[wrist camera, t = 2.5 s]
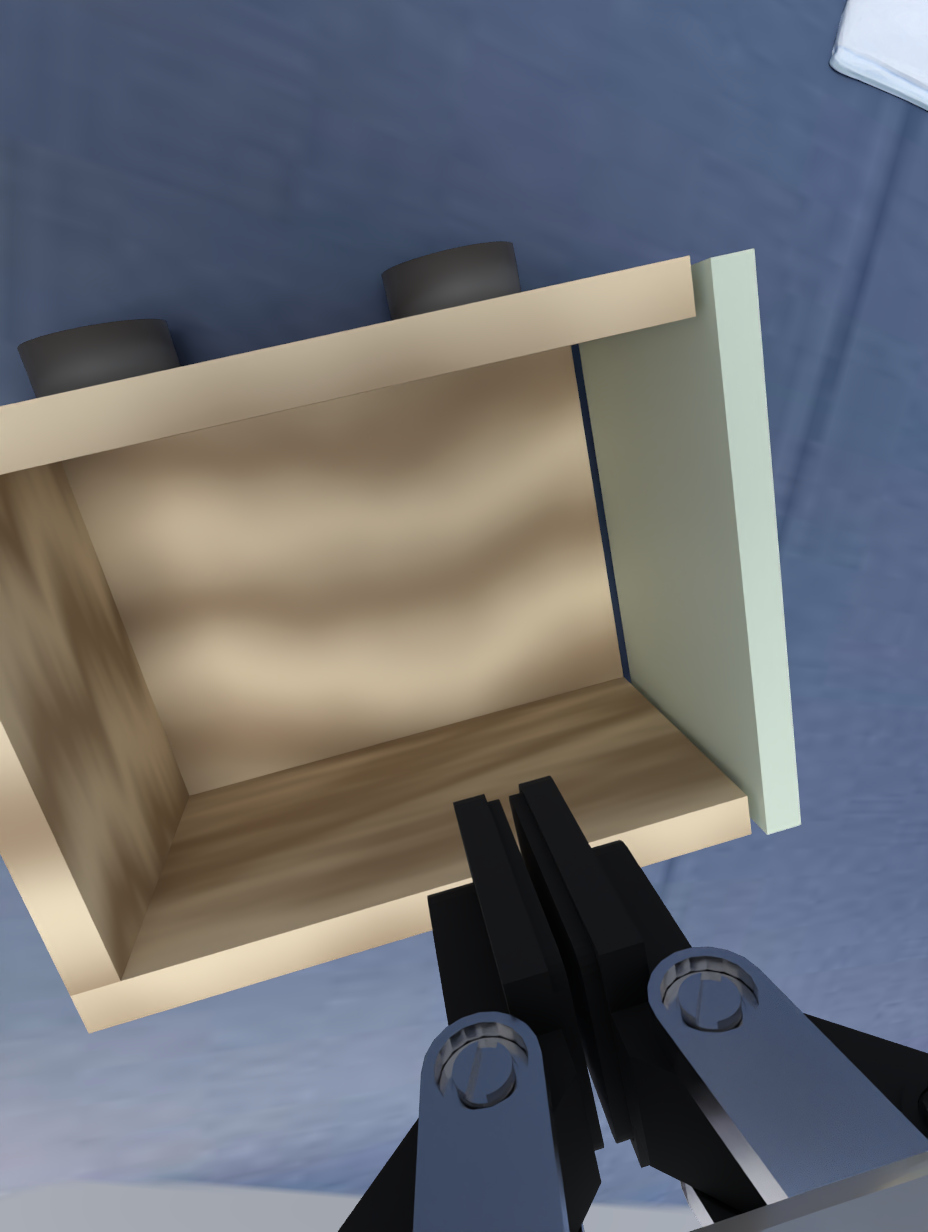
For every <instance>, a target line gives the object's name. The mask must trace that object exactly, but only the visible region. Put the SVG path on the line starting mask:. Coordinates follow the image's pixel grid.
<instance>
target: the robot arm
mask: <svg viewBox="0 0 928 1232" xmlns="http://www.w3.org/2000/svg"><path fill="white" fill-rule="evenodd" d="M509 802H510V807H511V811H512V816H513V820H514V824H515V829H516V833H517V838H518V842H519V846H520V850H519V848H518V845H517V843H516V840H515V838H514V835H513V833H512V830H511V828H510V825H509V822H508V820H507V817H506V815H505V812H504V810H503V807H502V805H501V802H500V800H499V799H496V800H493V801H489V802H487V800H486V797H485V794H481V795H478V796H474V797H470V798H467V799H463V800H460V801H456V802H453V806H454V810H455V814H456V818H457V822H458V826H459V829H460V833H461V837H462V841H463V845H464V849H465V853H466V857H467V861H468V865H469V869H470V873H471V877H472V881H473V882H472V883H469V884H465V885H462V886H459V887H455V888H452V889H448V890H445V891H441V892H438V893H434V894H431V895H428V896H427V900H428V907H429V913H430V919H431V925H432V930H433V936H434V942H435V948H436V954H437V960H438V966H439V972H440V978H441V984H442V990H443V996H444V1002H445V1008H446V1014H447V1020H448V1025H449V1026H448V1027H446V1028H445V1029H444V1030H443V1031H442V1032H441V1033H440V1034H439V1035H438V1036H437V1037H436V1038H435V1039H434V1041H433V1042H432V1044H431V1046H430V1048H429V1049H428V1051H427V1053H426V1055H425V1057H424V1062H423V1067H422V1071H421V1083H420V1103H419V1118H418V1119H417V1121H416V1122H415V1124H414V1125H413V1126H412V1128H411V1129H410V1131H409V1132H408V1133H407V1135H406V1136H405V1138H404V1139H403V1141H402V1142H401V1143H400V1145H399V1146H398V1148H397V1149H396V1150H395V1152H394V1153H393V1155H392V1156H391V1157H390V1159H389V1160H388V1162H387V1163H386V1164H385V1166H384V1167H383V1169H382V1170H381V1171H380V1173H379V1174H378V1176H377V1177H376V1179H375V1180H374V1181H373V1183H372V1184H371V1186H370V1187H369V1188H368V1190H367V1191H366V1193H365V1194H364V1195H363V1197H362V1198H361V1200H360V1201H359V1203H358V1204H357V1205H356V1207H355V1208H354V1210H353V1211H352V1212H351V1214H350V1215H349V1217H348V1218H347V1219H346V1221H345V1223H344V1224H343V1225H342V1226H341V1228H340V1229H339V1231H338V1232H585V1231H584V1227H583V1220H584V1218H585V1216H586V1214H587V1212H588V1210H589V1208H590V1206H591V1203H592V1201H593V1199H594V1197H595V1195H596V1193H597V1190H598V1188H599V1186H600V1184H601V1179H600V1174H599V1170H598V1165H597V1161H596V1156H595V1152H594V1151H595V1150H599V1149H602V1148H604V1143H603V1138H602V1134H601V1129H600V1124H599V1120H598V1115H597V1111H596V1106H595V1101H594V1097H593V1092H592V1087H591V1083H590V1078H589V1074H588V1069H589V1072H590V1075H591V1078H592V1080H593V1083H594V1086H595V1089H596V1091H597V1094H598V1097H599V1099H600V1102H601V1105H602V1108H603V1110H604V1113H605V1116H606V1118H607V1121H608V1124H609V1127H610V1129H611V1132H612V1135H613V1137H614V1139H615V1142H616V1143H620V1142H623V1141H626V1140H629V1139H630V1140H631V1143H632V1145H633V1148H634V1150H635V1153H636V1155H637V1158H638V1161H639V1163H640V1166H641V1168H642V1167H645V1166H648V1165H650V1166H652V1167H654V1168H656V1169H658V1170H660V1171H662V1172H664V1173H666V1174H668V1175H670V1176H672V1177H674V1178H676V1179H678V1180H680V1182H681V1187H682V1190H683V1192H684V1195H685V1197H686V1199H687V1202H688V1204H689V1206H690V1208H691V1210H692V1211H693V1213H694V1215H695V1216H696V1218H697V1220H698V1221H699V1223H700V1225H701V1226H702V1228H699V1229H696V1230H693V1231H690V1232H928V1053H925V1052H922V1051H919V1050H916V1049H913V1048H910V1047H907V1046H903V1045H900V1044H897V1043H894V1042H891V1041H888V1040H885V1039H882V1038H879V1037H876V1036H873V1035H869V1034H866V1033H863V1032H860V1031H857V1030H854V1029H851V1028H848V1027H845V1026H842V1025H839V1024H835V1023H832V1022H829V1021H826V1020H823V1019H820V1018H817V1017H814V1016H811V1015H808V1014H805V1013H802V1012H801V1011H800V1010H799V1009H798V1008H797V1007H796V1006H795V1005H794V1004H793V1003H792V1002H791V1001H790V1000H789V999H788V997H787V996H786V995H785V994H784V993H783V992H782V991H781V990H780V989H779V988H778V987H777V986H776V985H775V984H774V983H773V982H772V981H771V980H770V979H769V978H768V977H767V976H766V975H765V974H764V973H763V972H762V971H761V970H760V969H759V968H758V967H756V966H755V965H754V964H752V963H751V962H750V961H749V960H747V959H746V958H745V957H742V956H740V955H738V954H735V953H733V952H731V951H728V950H725V949H719V948H713V947H693V948H692V947H691V945H690V944H689V942H688V941H687V939H686V938H685V936H684V934H683V933H682V931H681V930H680V928H679V927H678V925H677V924H676V922H675V920H674V919H673V917H672V916H671V914H670V913H669V911H668V909H667V908H666V906H665V905H664V903H663V902H662V900H661V899H660V897H659V895H658V894H657V892H656V891H655V889H654V888H653V886H652V885H651V883H650V881H649V880H648V878H647V877H646V875H645V874H644V872H643V871H642V869H641V867H640V866H639V864H638V863H637V861H636V860H635V858H634V857H633V855H632V853H631V852H630V850H629V849H628V847H627V846H626V845H625V843H624V842H623V841H621V840H617V841H614V842H610V843H607V844H603V845H600V846H596V847H593V848H591V846H590V845H589V843H588V841H587V839H586V837H585V836H584V834H583V832H582V830H581V829H580V827H579V825H578V823H577V821H576V820H575V818H574V816H573V814H572V812H571V811H570V809H569V807H568V805H567V804H566V802H565V800H564V798H563V796H562V795H561V793H560V791H559V789H558V787H557V786H556V784H555V782H554V780H553V778H552V777H551V776H550V775H549V776H545V777H542V778H538V779H535V780H531V781H528V782H524V783H520V784H519V793H518V794H514V795H511V796H509ZM520 851H521V853H520ZM587 1067H588V1069H587Z"/></svg>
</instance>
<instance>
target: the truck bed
mask: <svg viewBox="0 0 928 1232" xmlns="http://www.w3.org/2000/svg"><path fill="white" fill-rule="evenodd" d="M382 279H383V284H384V288H385V292H386V297H387V301H388V306H389V310H390V314H391V319H392V321H388V322H383V323H379V324H374V325H370V326H365V327H361V328H356V329H351V330H347V331H342V332H338V333H333V334H329V335H324V336H319V337H315V338H310V339H306V340H301V341H297V342H292V343H287V344H283V345H278V346H274V347H269V348H265V349H260V350H255V351H251V352H246V353H242V354H237V355H233V356H228V357H223V358H219V359H214V360H210V361H205V362H201V363H196V364H191V365H187V366H182V367H181V366H180V363H179V360H178V357H177V354H176V351H175V348H174V344H173V341H172V338H171V335H170V332H169V329H168V326H167V323H166V321H164V320H160V319H137V320H125V321H116V322H109V323H102V324H96V325H90V326H84V327H79V328H74V329H69V330H64V331H60V332H56V333H52V334H48V335H44V336H41V337H38V338H35V339H32V340H29V341H26V342H24V343H22V344H20V345H19V346H18V347H17V349H18V351H19V354H20V356H21V359H22V362H23V364H24V367H25V369H26V372H27V375H28V377H29V380H30V382H31V385H32V388H33V390H34V393H35V395H36V399H32V400H27V401H22V402H18V403H13V404H9V405H4V406H0V854H1V856H2V858H3V860H4V862H5V864H6V866H7V868H8V870H9V872H10V874H11V876H12V878H13V880H14V882H15V885H16V887H17V889H18V891H19V893H20V895H21V897H22V899H23V901H24V903H25V905H26V907H27V909H28V911H29V913H30V915H31V917H32V919H33V921H34V923H35V925H36V927H37V929H38V931H39V933H40V935H41V937H42V939H43V941H44V943H45V945H46V947H47V949H48V951H49V953H50V955H51V957H52V960H53V962H54V964H55V966H56V968H57V970H58V972H59V974H60V976H61V978H62V980H63V982H64V984H65V986H66V988H67V990H68V992H69V994H70V996H71V998H72V1000H73V1002H74V1004H75V1006H76V1008H77V1010H78V1012H79V1014H80V1016H81V1018H82V1020H83V1022H84V1024H85V1026H86V1028H87V1030H88V1033H92V1032H96V1031H99V1030H102V1029H105V1028H109V1027H112V1026H115V1025H119V1024H122V1023H125V1022H129V1021H132V1020H135V1019H139V1018H142V1017H145V1016H149V1015H152V1014H155V1013H159V1012H162V1011H165V1010H169V1009H172V1008H175V1007H178V1006H182V1005H185V1004H188V1003H192V1002H195V1001H198V1000H202V999H205V998H208V997H212V996H215V995H218V994H222V993H225V992H228V991H232V990H235V989H238V988H242V987H245V986H248V985H252V984H255V983H258V982H261V981H265V980H268V979H271V978H275V977H278V976H281V975H285V974H288V973H291V972H295V971H298V970H301V969H305V968H308V967H311V966H315V965H318V964H321V963H325V962H328V961H331V960H335V959H338V958H341V957H344V956H348V955H351V954H354V953H358V952H361V951H364V950H368V949H371V948H374V947H378V946H381V945H384V944H388V943H391V942H394V941H398V940H401V939H404V938H408V937H411V936H414V935H418V934H421V933H424V932H427V931H431V930H432V925H431V919H430V913H429V907H428V900H427V896H428V895H431V894H434V893H438V892H441V891H445V890H448V889H452V888H455V887H459V886H462V885H465V884H469V883H472V882H473V881H472V877H471V873H470V869H469V865H468V861H467V857H466V853H465V849H464V845H463V841H462V837H461V833H460V829H459V826H458V822H457V818H456V814H455V810H454V806H453V802H456V801H460V800H463V799H467V798H470V797H474V796H478V795H481V794H485V797H486V800H487V802H489V801H493V800H496V799H499V800H500V802H501V805H502V807H503V810H504V812H505V815H506V817H507V820H508V822H509V825H510V828H511V830H512V833H513V835H514V838H515V840H516V843H517V845H518V848H519V850H520V846H519V842H518V838H517V833H516V829H515V824H514V820H513V816H512V811H511V807H510V802H509V796H511V795H514V794H518V793H519V784H520V783H524V782H528V781H531V780H535V779H538V778H542V777H545V776H549V775H550V776H551V777H552V778H553V780H554V782H555V784H556V786H557V787H558V789H559V791H560V793H561V795H562V796H563V798H564V800H565V802H566V804H567V805H568V807H569V809H570V811H571V812H572V814H573V816H574V818H575V820H576V821H577V823H578V825H579V827H580V829H581V830H582V832H583V834H584V836H585V837H586V839H587V841H588V843H589V845H590V846H591V848H593V847H596V846H600V845H603V844H607V843H610V842H614V841H617V840H621V841H623V842H624V843H625V845H626V846H627V847H628V849H629V850H630V852H631V853H632V855H633V857H634V858H635V860H636V861H637V863H638V864H639V866H640V867H643V866H647V865H650V864H653V863H657V862H660V861H663V860H667V859H670V858H673V857H676V856H680V855H683V854H686V853H690V852H693V851H696V850H700V849H703V848H706V847H710V846H713V845H716V844H720V843H723V842H726V841H730V840H733V839H736V838H740V837H743V836H746V835H749V834H751V825H750V816H749V806H748V797H747V795H746V794H745V793H744V792H743V791H742V790H741V789H740V788H739V787H738V786H737V785H735V784H734V783H733V782H732V781H731V780H730V779H729V778H728V777H727V776H726V775H725V774H724V773H723V772H722V771H721V770H720V769H719V768H718V767H717V766H716V765H715V764H714V763H713V762H712V761H711V760H710V759H708V758H707V757H706V756H705V755H704V754H703V753H702V752H701V751H700V750H699V749H698V748H697V747H696V746H695V745H694V744H693V743H692V742H691V741H690V740H689V739H688V738H687V737H686V736H685V735H684V734H682V733H681V732H680V731H679V730H678V729H677V728H676V727H675V726H674V725H673V724H672V723H671V722H670V721H669V720H668V719H667V718H666V717H665V716H664V715H663V714H662V713H661V712H660V711H659V710H658V709H657V708H655V707H654V706H653V705H652V704H651V703H650V702H649V701H648V700H647V699H646V698H645V697H644V696H643V695H642V694H641V693H640V692H639V691H638V690H637V689H636V688H635V687H634V686H633V685H632V684H631V683H630V682H628V681H627V680H626V679H625V678H624V677H623V671H622V664H621V658H620V652H619V646H618V639H617V633H616V627H615V620H614V614H613V608H612V602H611V595H610V589H609V583H608V576H607V570H606V564H605V558H604V551H603V545H602V539H601V532H600V526H599V520H598V514H597V507H596V501H595V495H594V488H593V482H592V476H591V470H590V463H589V457H588V451H587V444H586V438H585V432H584V426H583V419H582V413H581V407H580V401H579V394H578V388H577V382H576V375H575V369H574V363H573V357H572V350H571V345H575V344H579V343H584V342H588V341H592V340H597V339H601V338H605V337H609V336H614V335H618V334H622V333H627V332H631V331H635V330H640V329H644V328H648V327H653V326H657V325H661V324H665V323H670V322H674V321H678V320H683V319H687V318H691V317H696V310H695V301H694V292H693V282H692V273H691V264H690V256H685V257H681V258H676V259H671V260H667V261H662V262H658V263H653V264H649V265H644V266H639V267H635V268H630V269H626V270H621V271H617V272H612V273H607V274H603V275H598V276H594V277H589V278H585V279H580V280H575V281H571V282H566V283H562V284H557V285H553V286H548V287H543V288H539V289H534V290H530V291H525V292H521V287H520V282H519V276H518V270H517V265H516V259H515V253H514V248H513V244H512V243H511V242H504V241H500V242H487V243H480V244H473V245H468V246H463V247H458V248H453V249H449V250H444V251H440V252H436V253H433V254H429V255H426V256H422V257H419V258H416V259H412V260H410V261H407V262H404V263H401V264H399V265H396V266H394V267H392V268H390V269H388V270H386V271H385V272H383V273H382ZM520 853H521V851H520Z"/></svg>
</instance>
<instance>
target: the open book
mask: <svg viewBox="0 0 928 1232" xmlns="http://www.w3.org/2000/svg"><path fill="white" fill-rule="evenodd" d="M829 64H830V66H831V67H832V68H834V69H835V70H836V71H838V72H840V73H842V74H844V75H847V76H849V77H852V78H855V79H857V80H860V81H862V82H865V83H867V84H869V85H872V86H874V87H877V88H879V89H881V90H884V91H886V92H888V93H891V94H893V95H895V96H898V97H900V98H902V99H905V100H907V101H909V102H911V103H913V104H915V105H917V106H919V107H921V108H923V109H925V110H927V111H928V0H847V3H846V6H845V9H844V11H843V14H842V17H841V20H840V24H839V28H838V32H837V36H836V40H835V44H834V48H833V51H832V57H831V59H830V61H829Z"/></svg>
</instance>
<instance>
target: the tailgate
mask: <svg viewBox="0 0 928 1232" xmlns="http://www.w3.org/2000/svg"><path fill="white" fill-rule="evenodd" d="M691 273H692V282H693V292H694V301H695V310H696V317H691V318H687V319H683V320H678V321H674V322H670V323H665V324H661V325H657V326H653V327H648V328H644V329H640V330H635V331H631V332H627V333H622V334H618V335H614V336H609V337H605V338H601V339H597V340H592V341H588V342H584V343H579V350H580V357H581V363H582V369H583V376H584V382H585V389H586V395H587V402H588V408H589V414H590V421H591V427H592V434H593V440H594V446H595V453H596V459H597V466H598V472H599V479H600V485H601V491H602V498H603V504H604V511H605V517H606V523H607V530H608V536H609V543H610V549H611V556H612V562H613V568H614V575H615V581H616V588H617V594H618V600H619V607H620V613H621V620H622V626H623V633H624V639H625V645H626V652H627V658H628V665H629V671H630V677H631V684H632V685H633V686H634V687H635V688H636V689H637V690H638V691H639V692H640V693H641V694H642V695H643V696H644V697H645V698H646V699H647V700H648V701H649V702H650V703H651V704H652V705H653V706H654V707H655V708H657V709H658V710H659V711H660V712H661V713H662V714H663V715H664V716H665V717H666V718H667V719H668V720H669V721H670V722H671V723H672V724H673V725H674V726H675V727H676V728H677V729H678V730H679V731H680V732H681V733H682V734H684V735H685V736H686V737H687V738H688V739H689V740H690V741H691V742H692V743H693V744H694V745H695V746H696V747H697V748H698V749H699V750H700V751H701V752H702V753H703V754H704V755H705V756H706V757H707V758H708V759H710V760H711V761H712V762H713V763H714V764H715V765H716V766H717V767H718V768H719V769H720V770H721V771H722V772H723V773H724V774H725V775H726V776H727V777H728V778H729V779H730V780H731V781H732V782H733V783H734V784H735V785H737V786H738V787H739V788H740V789H741V790H742V791H743V792H744V793H745V794H746V795H747V797H748V806H749V816H750V818H751V819H752V820H753V821H754V822H755V823H756V824H757V825H758V826H759V827H760V828H761V829H762V830H763V831H764V832H765V833H766V834H767V835H769V834H772V833H775V832H778V831H782V830H785V829H788V828H792V827H795V826H798V825H801V818H800V806H799V793H798V781H797V769H796V757H795V744H794V732H793V720H792V707H791V695H790V683H789V670H788V658H787V646H786V633H785V621H784V609H783V597H782V584H781V572H780V560H779V547H778V535H777V523H776V510H775V498H774V486H773V474H772V461H771V449H770V437H769V424H768V412H767V400H766V387H765V375H764V363H763V350H762V338H761V326H760V314H759V301H758V289H757V277H756V264H755V252H754V248H753V249H749V250H744V251H740V252H735V253H731V254H726V255H722V256H717V257H712V258H709V259H706V260H704V261H701V262H698V263H696V264H693V265H691Z"/></svg>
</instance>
